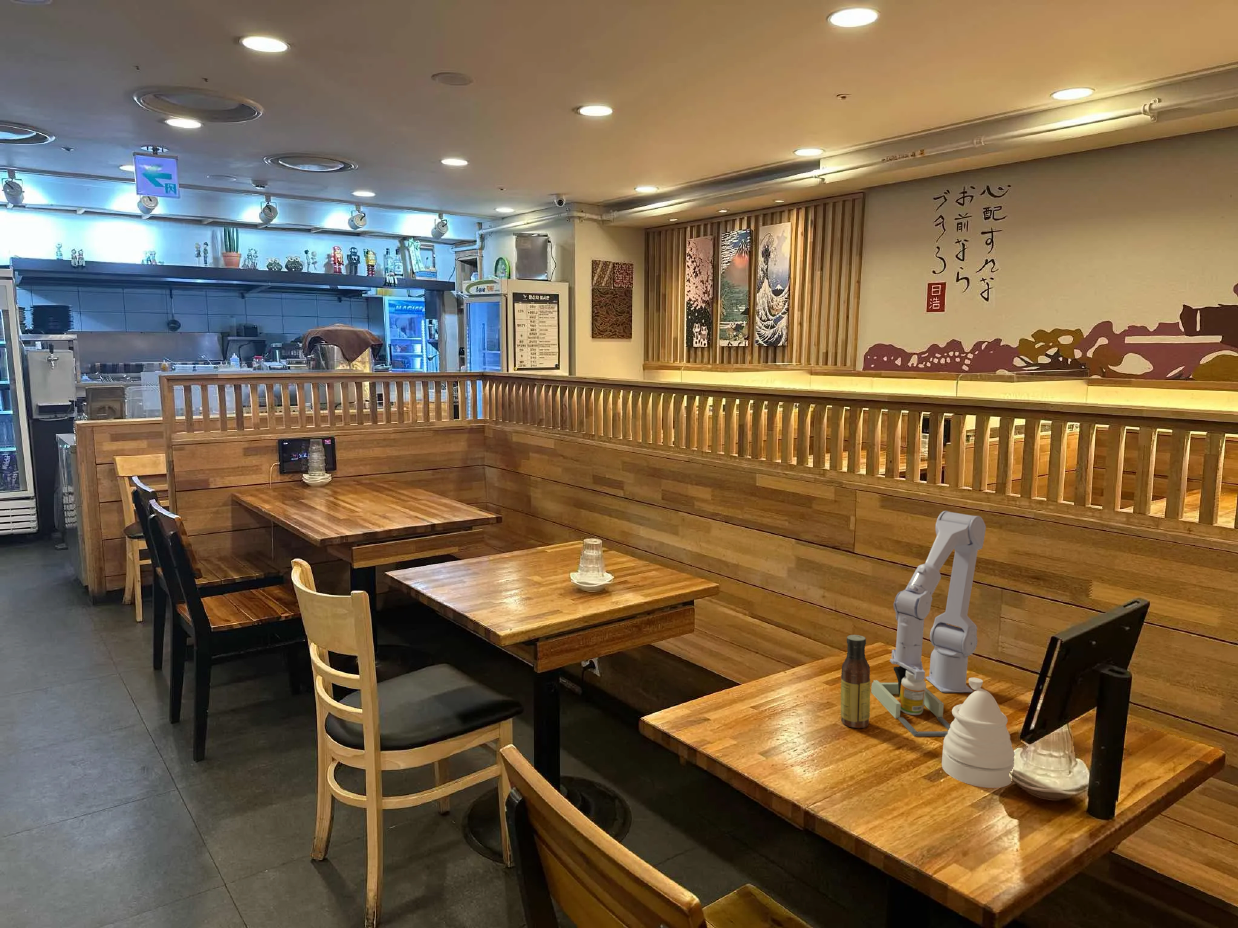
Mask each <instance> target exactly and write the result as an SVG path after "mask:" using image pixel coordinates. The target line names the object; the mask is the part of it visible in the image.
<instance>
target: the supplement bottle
mask: <svg viewBox="0 0 1238 928" xmlns="http://www.w3.org/2000/svg"><path fill="white" fill-rule="evenodd" d="M914 677H915V674H914V673H913V672H912V671H909V670H906V677H904V678H903V679H902V682H901V690H900V696H899V698H898V699H899V700H898V702H899V703H900V704H901V706H900V712H903V713H904V714H906V715H911V716H919V715H921V714H923V712H924V706H925V705H924V699H925V691H926V688H927V683H926V681H925V679H924V680H916V679H915V678H914Z"/></svg>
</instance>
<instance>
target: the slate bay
mask: <svg viewBox="0 0 1238 928" xmlns="http://www.w3.org/2000/svg"><path fill="white" fill-rule="evenodd" d="M897 720H898V721H899V722H900V723H901V724H902V725H903V726H904V727H905V728H906V729H907V730H908V732H910V734H911V735H912V736H913V737H945V736H946V735H947V734H948V730H949V728H950V725H951V723H949V722H948V720H946V719H945V718H944V716H943V717H936V720H937V721H938V722H939V723H940V724H942V726H944V727H945V729H946V730H945V731H942V730H941V731H939V730H938V731H935V730H934V731H933V730H932V731H917V730H916V729H915V728H914V727H913V726H912V724H910V722H909V721H907V719H906V718H905V717H904V716H900V717H899V719H897Z"/></svg>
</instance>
